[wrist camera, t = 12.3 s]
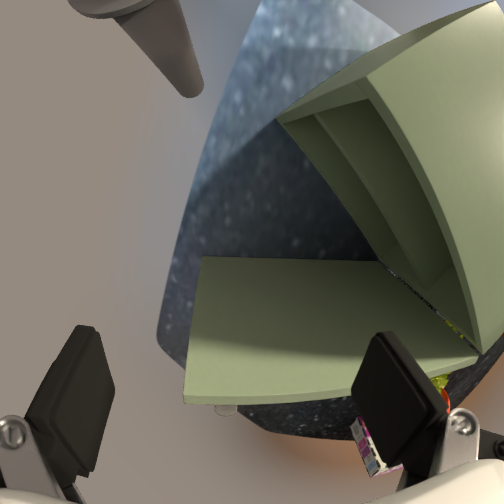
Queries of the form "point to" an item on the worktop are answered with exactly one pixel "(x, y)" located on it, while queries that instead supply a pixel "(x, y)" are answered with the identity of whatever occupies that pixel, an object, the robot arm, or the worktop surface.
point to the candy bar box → (369, 449)
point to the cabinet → (423, 160)
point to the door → (302, 330)
